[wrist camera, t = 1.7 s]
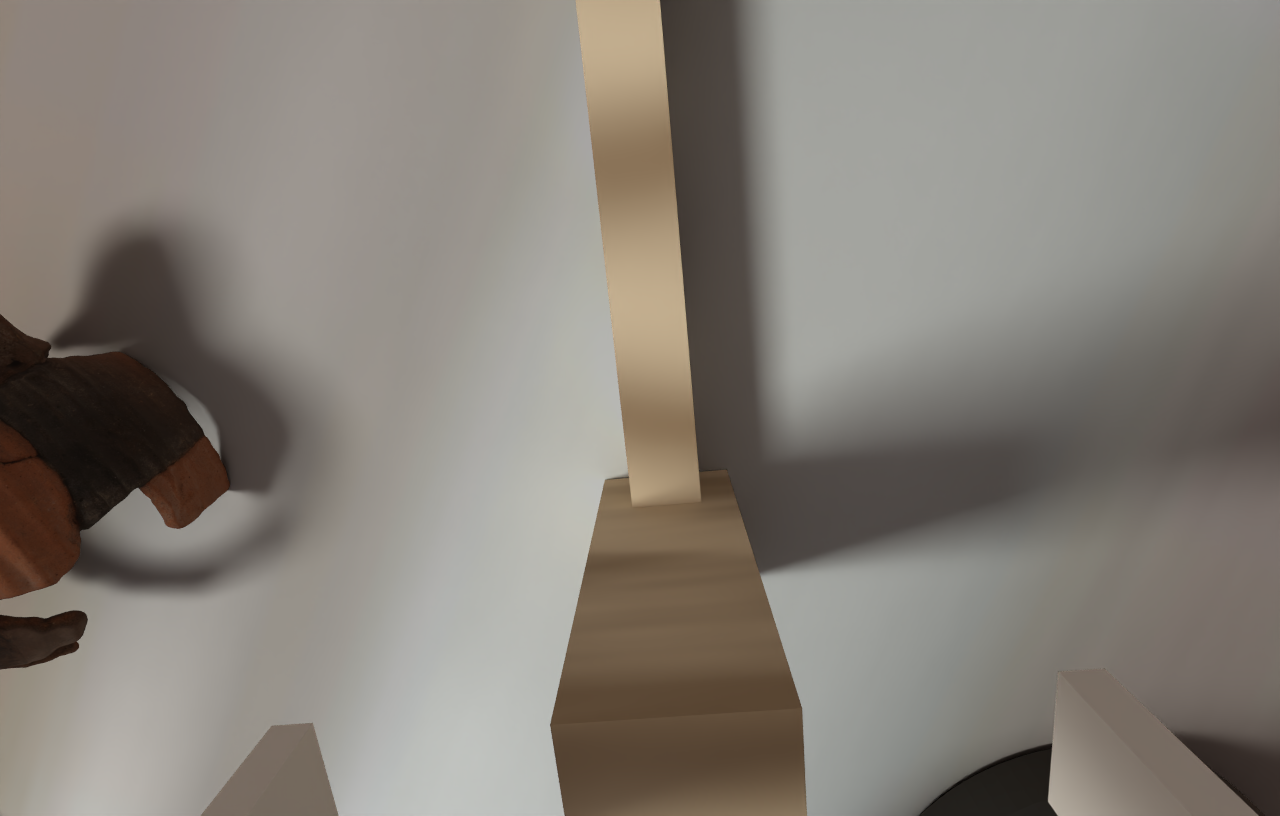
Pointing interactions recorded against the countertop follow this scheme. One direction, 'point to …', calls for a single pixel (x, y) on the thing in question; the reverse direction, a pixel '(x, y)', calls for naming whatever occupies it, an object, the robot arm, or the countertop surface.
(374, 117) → the countertop surface
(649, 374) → the wooden mallet
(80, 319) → the countertop surface
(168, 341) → the countertop surface
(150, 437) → the pottery mug
